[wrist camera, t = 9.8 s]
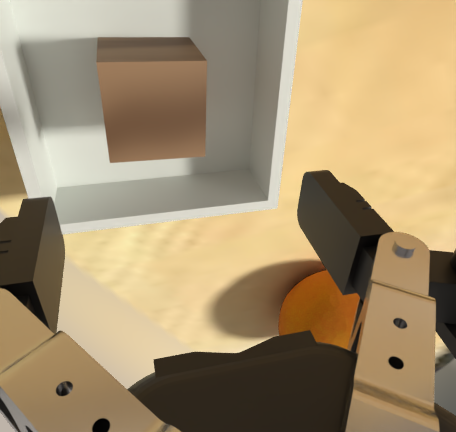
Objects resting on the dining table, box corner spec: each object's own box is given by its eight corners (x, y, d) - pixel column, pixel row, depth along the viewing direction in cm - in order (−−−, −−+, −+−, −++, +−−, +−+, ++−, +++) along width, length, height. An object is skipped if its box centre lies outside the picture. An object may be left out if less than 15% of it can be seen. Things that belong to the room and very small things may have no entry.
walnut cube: (97, 37, 22) (96, 62, 18) (189, 37, 23) (206, 60, 19) (108, 124, 25) (109, 163, 21) (189, 121, 26) (205, 156, 22)
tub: (-22, -72, 19) (-55, -71, 15) (272, -63, 22) (309, -60, 18) (49, 191, 27) (40, 237, 23) (254, 171, 30) (277, 208, 26)
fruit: (264, 337, 43) (292, 409, 36) (270, 263, 36) (305, 334, 30) (354, 317, 45) (396, 382, 38) (374, 244, 38) (428, 307, 32)
